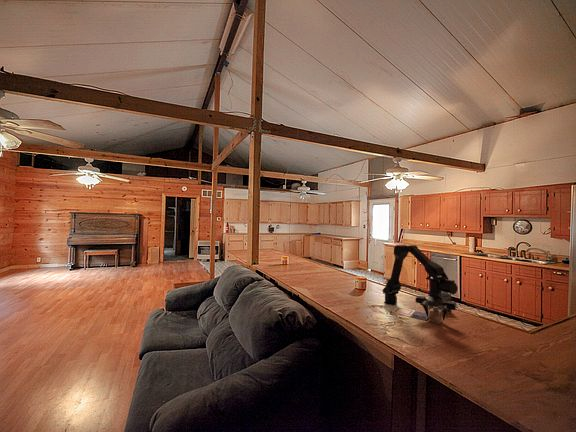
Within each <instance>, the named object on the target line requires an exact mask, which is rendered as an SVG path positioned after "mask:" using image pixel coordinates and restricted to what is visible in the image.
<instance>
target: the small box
mask: <svg viewBox="0 0 576 432" xmlns="http://www.w3.org/2000/svg"><path fill="white" fill-rule="evenodd" d="M442 298H443V302H446V303H447V302H448V301H452V294H450V293H446V292H443V291H442ZM433 307H434V306H428V310H430V309H431V308H433ZM444 308H445V306H443V305H438V310H442V313H444ZM447 313H452V310H450V311H448V312H447Z"/></svg>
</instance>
